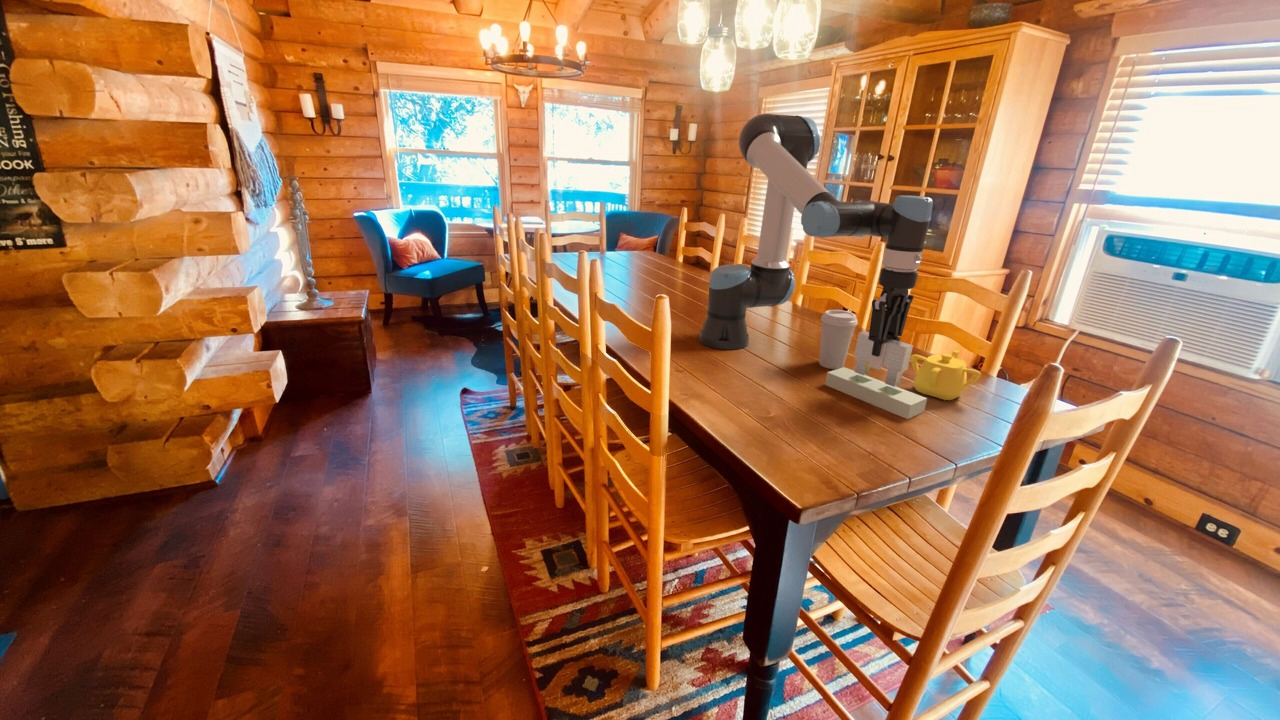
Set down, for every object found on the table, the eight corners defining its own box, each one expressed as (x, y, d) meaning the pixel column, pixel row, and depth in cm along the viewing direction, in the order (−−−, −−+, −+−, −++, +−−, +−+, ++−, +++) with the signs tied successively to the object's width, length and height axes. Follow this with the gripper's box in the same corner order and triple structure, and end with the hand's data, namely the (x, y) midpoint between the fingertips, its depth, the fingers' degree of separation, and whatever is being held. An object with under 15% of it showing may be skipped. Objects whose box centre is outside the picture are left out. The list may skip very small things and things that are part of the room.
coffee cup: (844, 359, 152) (853, 310, 146) (853, 372, 143) (863, 319, 138) (810, 357, 153) (818, 307, 147) (817, 370, 144) (826, 317, 138)
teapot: (899, 380, 139) (908, 343, 136) (949, 382, 139) (959, 346, 135) (922, 402, 127) (932, 363, 123) (977, 405, 126) (988, 366, 122)
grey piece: (851, 371, 130) (858, 332, 126) (858, 369, 131) (865, 331, 128) (897, 388, 121) (906, 347, 117) (903, 385, 122) (913, 345, 119)
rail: (825, 384, 134) (827, 372, 133) (841, 379, 138) (844, 367, 137) (907, 419, 118) (910, 405, 117) (923, 411, 122) (927, 398, 120)
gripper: (896, 275, 109) (874, 378, 118) (934, 268, 118) (912, 365, 126) (863, 268, 115) (845, 367, 123) (903, 262, 124) (883, 355, 132)
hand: (879, 366), depth 125 cm, fingers closed on grey piece, 3 cm apart
